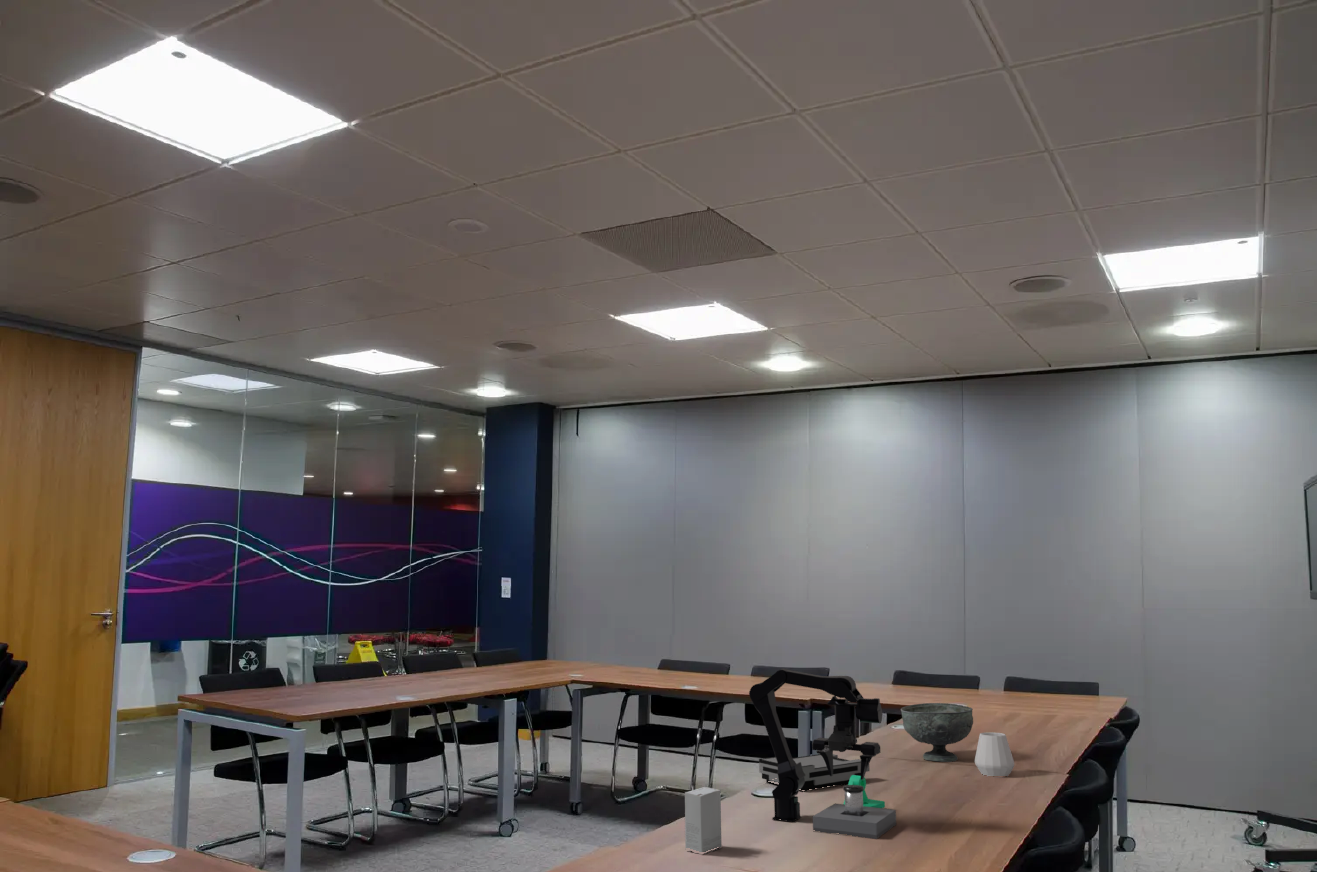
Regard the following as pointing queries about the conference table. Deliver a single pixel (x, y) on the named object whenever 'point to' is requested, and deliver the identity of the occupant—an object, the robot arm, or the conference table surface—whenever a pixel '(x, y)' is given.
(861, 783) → the camera mount
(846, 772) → the game console
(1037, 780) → the conference table surface
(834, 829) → the mount block
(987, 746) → the white faceted vase
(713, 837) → the skincare box
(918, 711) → the decorative bowl
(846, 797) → the tube
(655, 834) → the conference table surface
